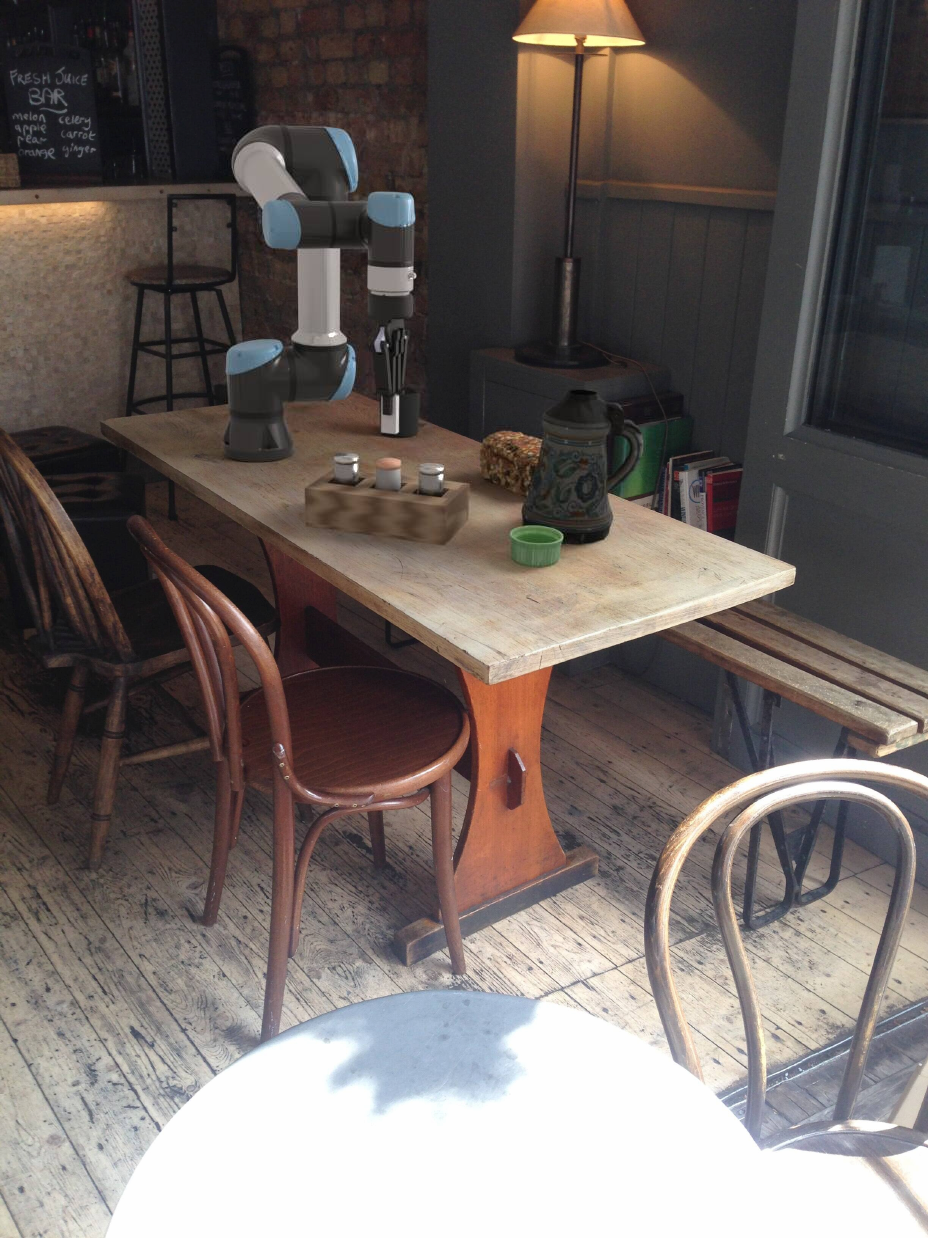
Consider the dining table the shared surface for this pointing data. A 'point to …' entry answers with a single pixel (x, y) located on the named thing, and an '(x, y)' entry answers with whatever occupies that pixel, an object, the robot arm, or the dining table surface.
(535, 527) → the ramekin
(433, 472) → the plug
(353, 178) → the robot arm
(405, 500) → the block
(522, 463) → the bread
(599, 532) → the beer stein
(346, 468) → the plug
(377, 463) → the plug terracotta
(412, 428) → the pen holder
